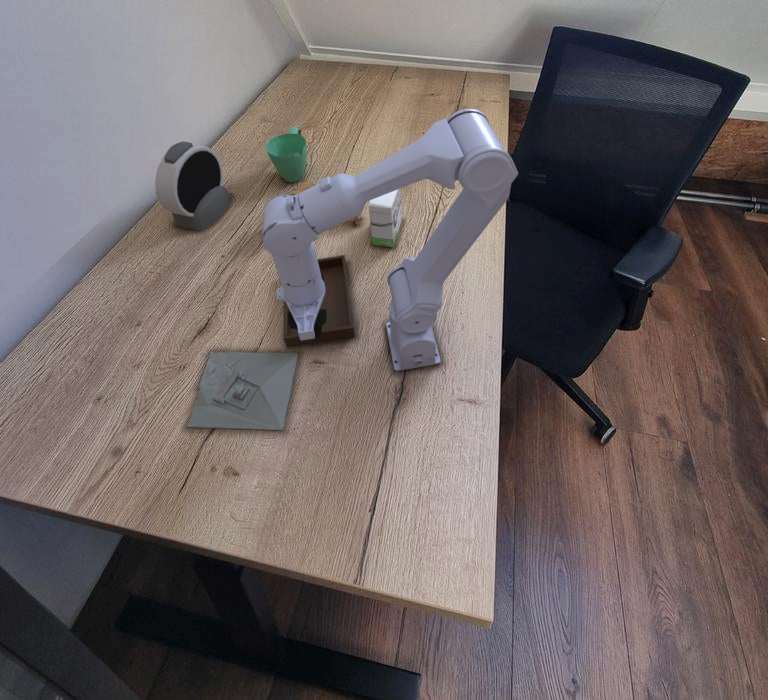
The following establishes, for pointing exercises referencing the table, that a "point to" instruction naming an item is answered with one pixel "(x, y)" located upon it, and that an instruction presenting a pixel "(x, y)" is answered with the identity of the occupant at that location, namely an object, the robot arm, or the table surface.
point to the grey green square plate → (244, 391)
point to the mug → (288, 154)
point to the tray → (328, 305)
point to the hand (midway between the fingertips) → (313, 324)
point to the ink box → (385, 218)
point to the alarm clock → (191, 185)
